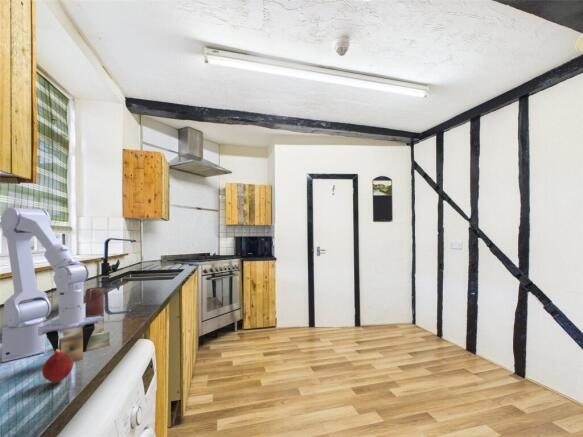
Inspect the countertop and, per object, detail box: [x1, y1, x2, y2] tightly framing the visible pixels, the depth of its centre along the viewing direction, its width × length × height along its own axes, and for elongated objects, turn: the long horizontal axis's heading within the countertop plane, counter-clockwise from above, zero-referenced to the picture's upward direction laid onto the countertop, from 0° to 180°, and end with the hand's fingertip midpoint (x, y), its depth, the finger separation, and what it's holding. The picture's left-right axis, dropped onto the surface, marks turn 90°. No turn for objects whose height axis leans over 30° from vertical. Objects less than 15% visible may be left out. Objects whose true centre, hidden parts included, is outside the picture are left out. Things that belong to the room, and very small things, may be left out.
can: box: [84, 286, 105, 318], centre depth 116 cm, size 6×6×14 cm
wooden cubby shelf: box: [62, 316, 111, 352], centre depth 94 cm, size 11×10×7 cm
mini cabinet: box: [58, 334, 84, 363], centre depth 84 cm, size 5×6×6 cm
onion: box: [41, 348, 74, 384], centre depth 71 cm, size 6×6×8 cm
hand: (70, 354), depth 84 cm, fingers open, 6 cm apart
